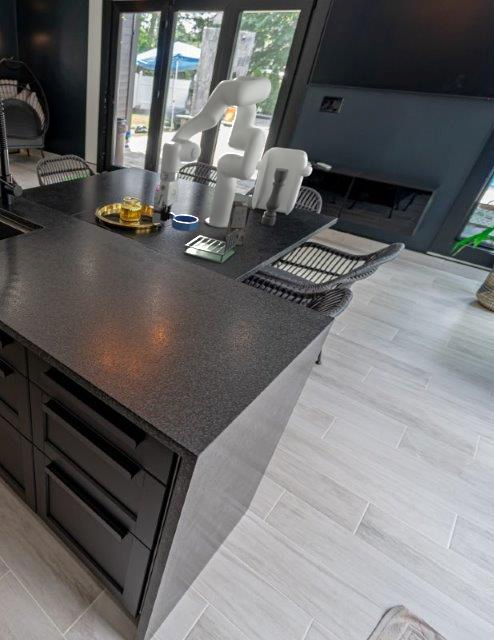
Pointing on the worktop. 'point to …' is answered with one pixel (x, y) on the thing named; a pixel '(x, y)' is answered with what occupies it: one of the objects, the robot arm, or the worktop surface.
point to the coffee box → (238, 220)
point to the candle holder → (274, 197)
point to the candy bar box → (156, 206)
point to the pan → (182, 221)
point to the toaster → (290, 190)
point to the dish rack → (212, 248)
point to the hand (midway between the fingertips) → (164, 219)
